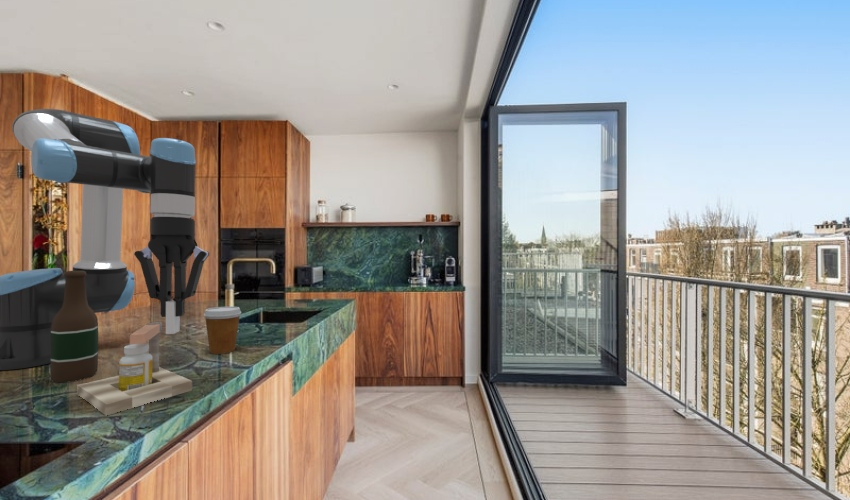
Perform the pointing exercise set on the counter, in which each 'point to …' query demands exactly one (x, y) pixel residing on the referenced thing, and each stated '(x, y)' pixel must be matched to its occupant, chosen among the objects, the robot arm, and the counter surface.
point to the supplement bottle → (135, 367)
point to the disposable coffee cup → (222, 328)
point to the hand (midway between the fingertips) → (172, 332)
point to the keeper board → (114, 400)
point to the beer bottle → (74, 333)
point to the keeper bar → (145, 333)
